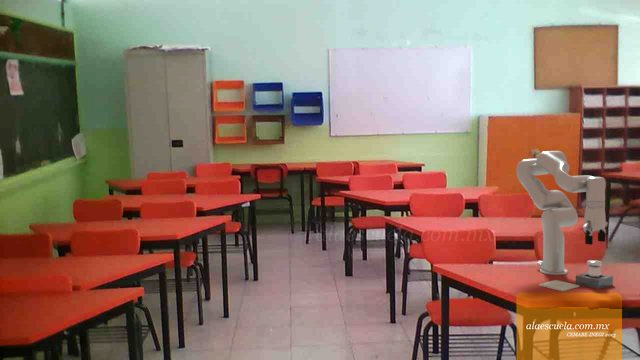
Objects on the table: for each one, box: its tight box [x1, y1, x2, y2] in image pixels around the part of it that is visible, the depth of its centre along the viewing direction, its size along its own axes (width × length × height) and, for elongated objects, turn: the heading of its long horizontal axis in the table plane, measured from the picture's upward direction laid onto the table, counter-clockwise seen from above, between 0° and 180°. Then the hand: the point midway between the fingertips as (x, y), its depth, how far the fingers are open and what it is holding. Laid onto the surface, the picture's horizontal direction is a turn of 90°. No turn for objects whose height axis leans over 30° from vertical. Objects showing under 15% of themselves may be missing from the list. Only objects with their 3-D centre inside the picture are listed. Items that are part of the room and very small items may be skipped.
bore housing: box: [575, 271, 614, 290], centre depth 268 cm, size 11×11×4 cm
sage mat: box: [538, 279, 580, 292], centre depth 267 cm, size 12×12×1 cm
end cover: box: [586, 259, 603, 279], centre depth 267 cm, size 6×6×10 cm
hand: (595, 242), depth 266 cm, fingers open, 9 cm apart
